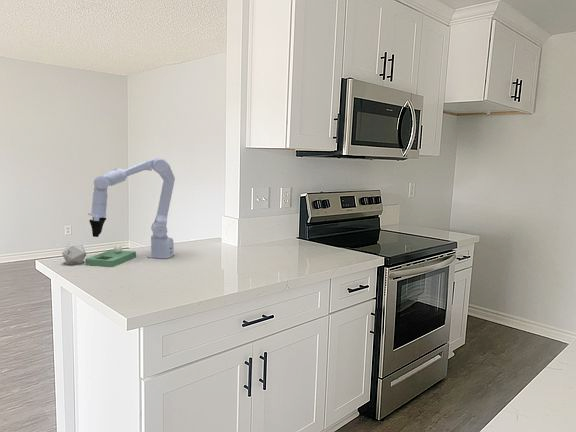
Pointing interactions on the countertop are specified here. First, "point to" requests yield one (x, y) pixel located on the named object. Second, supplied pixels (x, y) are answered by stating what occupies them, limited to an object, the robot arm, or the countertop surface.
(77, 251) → the die
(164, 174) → the robot arm
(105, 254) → the green
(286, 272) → the countertop surface
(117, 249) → the ball
